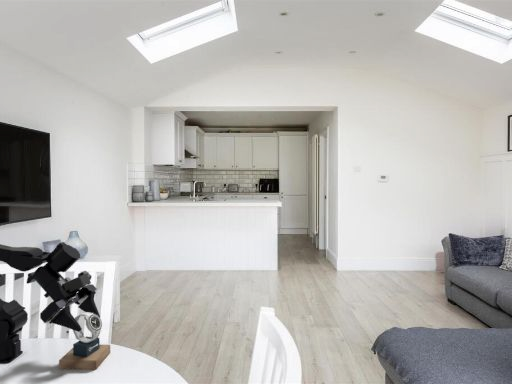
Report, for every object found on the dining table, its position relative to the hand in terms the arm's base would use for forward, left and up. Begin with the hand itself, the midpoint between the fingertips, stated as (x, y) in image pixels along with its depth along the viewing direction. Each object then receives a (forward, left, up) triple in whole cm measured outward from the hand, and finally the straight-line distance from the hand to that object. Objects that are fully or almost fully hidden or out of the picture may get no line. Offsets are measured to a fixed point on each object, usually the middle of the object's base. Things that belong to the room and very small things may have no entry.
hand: (90, 324), depth 110 cm
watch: (-1, 0, -8) cm, 8 cm away
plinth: (-1, 0, -11) cm, 11 cm away
